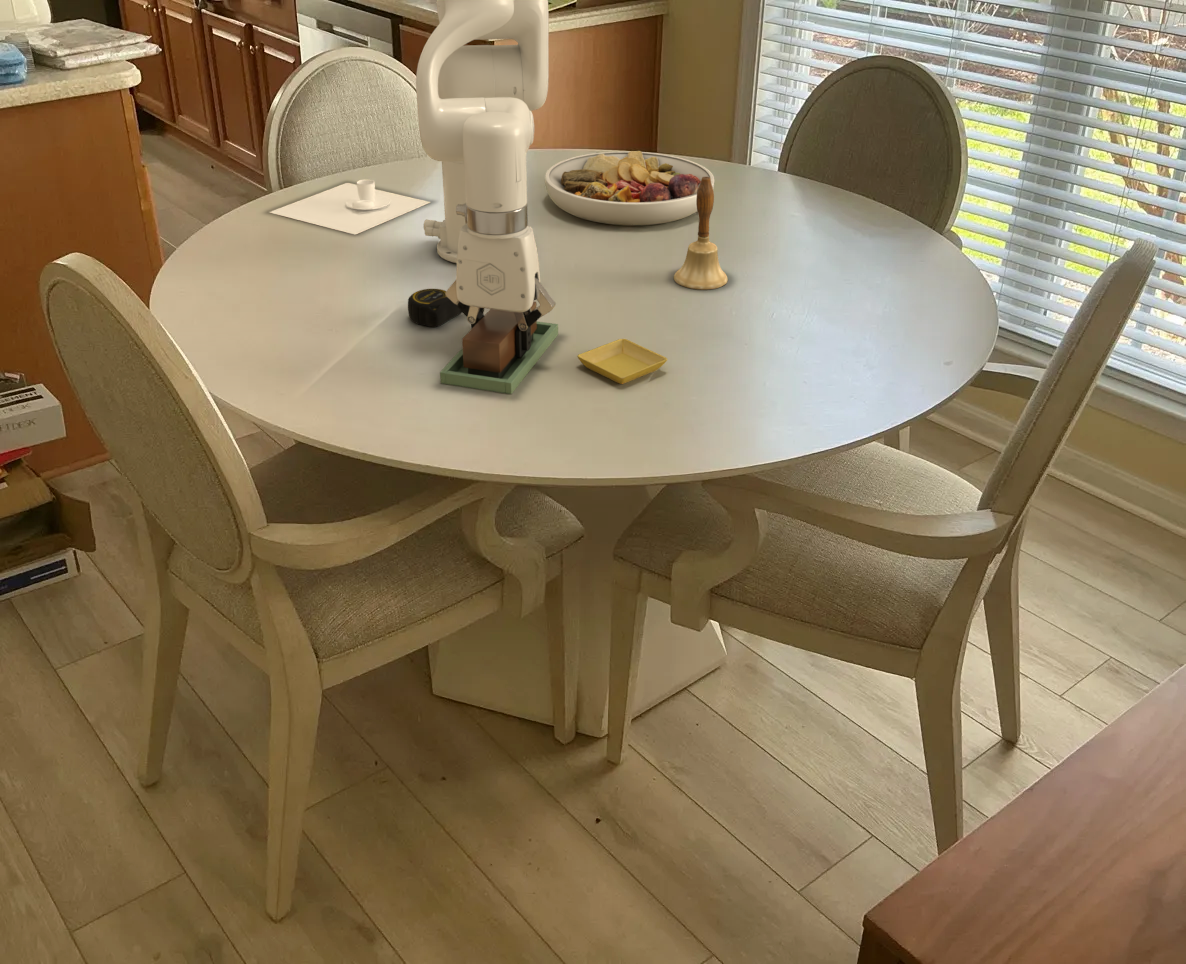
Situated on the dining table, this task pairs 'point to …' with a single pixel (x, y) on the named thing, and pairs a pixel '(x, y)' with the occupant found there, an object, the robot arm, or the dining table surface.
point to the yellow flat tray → (622, 360)
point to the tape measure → (431, 307)
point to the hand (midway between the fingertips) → (501, 349)
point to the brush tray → (513, 377)
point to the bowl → (626, 187)
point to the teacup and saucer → (350, 207)
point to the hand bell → (702, 249)
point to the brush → (492, 344)
